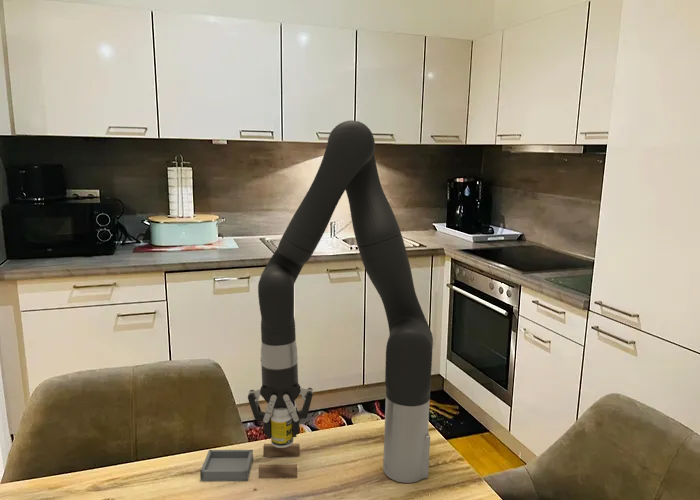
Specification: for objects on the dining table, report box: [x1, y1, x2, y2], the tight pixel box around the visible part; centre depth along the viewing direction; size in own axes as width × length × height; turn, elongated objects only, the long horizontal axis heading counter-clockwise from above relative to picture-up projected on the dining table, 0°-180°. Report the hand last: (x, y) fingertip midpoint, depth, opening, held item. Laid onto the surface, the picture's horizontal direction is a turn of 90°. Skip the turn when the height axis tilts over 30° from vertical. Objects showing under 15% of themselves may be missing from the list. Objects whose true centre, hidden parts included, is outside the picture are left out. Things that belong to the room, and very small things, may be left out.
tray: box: [199, 449, 254, 482], centre depth 112 cm, size 10×8×2 cm
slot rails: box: [258, 443, 301, 479], centre depth 113 cm, size 8×9×2 cm
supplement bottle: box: [270, 407, 294, 448], centre depth 111 cm, size 5×5×8 cm
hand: (282, 435), depth 112 cm, fingers closed on supplement bottle, 4 cm apart
